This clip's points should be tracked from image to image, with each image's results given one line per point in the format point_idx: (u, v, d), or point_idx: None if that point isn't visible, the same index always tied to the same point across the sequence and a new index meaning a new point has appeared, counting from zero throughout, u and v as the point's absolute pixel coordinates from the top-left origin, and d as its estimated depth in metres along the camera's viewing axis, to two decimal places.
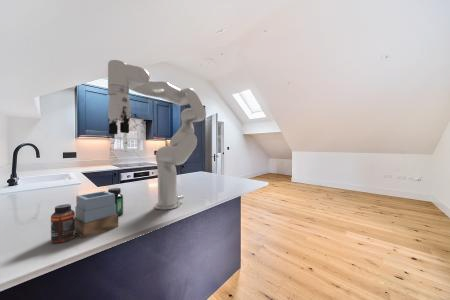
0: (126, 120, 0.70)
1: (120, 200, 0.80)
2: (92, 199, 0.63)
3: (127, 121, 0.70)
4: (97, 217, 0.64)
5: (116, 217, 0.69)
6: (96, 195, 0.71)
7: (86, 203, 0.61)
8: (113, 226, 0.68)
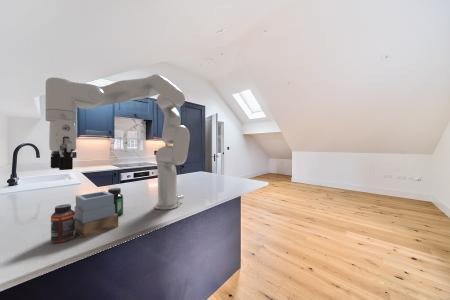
0: (67, 154, 0.55)
1: (120, 200, 0.80)
2: (90, 199, 0.63)
3: (69, 155, 0.56)
4: (95, 217, 0.64)
5: (116, 217, 0.69)
6: (95, 195, 0.71)
7: (84, 203, 0.61)
8: (113, 226, 0.68)
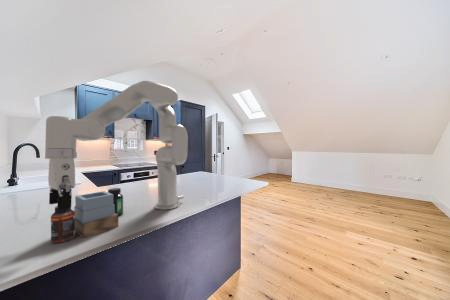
0: (66, 194, 0.55)
1: (120, 200, 0.80)
2: (90, 199, 0.63)
3: (67, 194, 0.55)
4: (95, 217, 0.64)
5: (116, 217, 0.69)
6: (95, 195, 0.71)
7: (84, 203, 0.61)
8: (113, 226, 0.68)
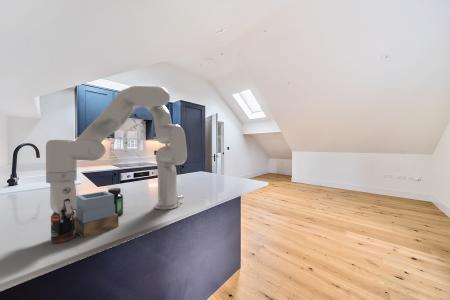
0: (66, 220, 0.56)
1: (120, 200, 0.80)
2: (90, 199, 0.63)
3: (68, 220, 0.57)
4: (95, 218, 0.63)
5: (116, 217, 0.69)
6: (96, 195, 0.71)
7: (84, 203, 0.61)
8: (113, 226, 0.68)
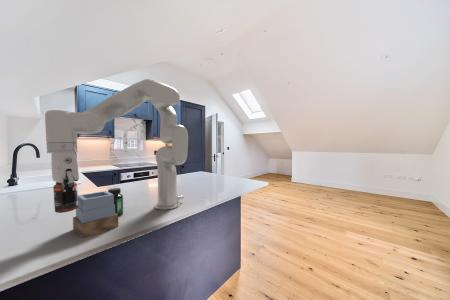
0: (69, 189, 0.56)
1: (120, 200, 0.80)
2: (90, 199, 0.63)
3: (71, 190, 0.57)
4: (95, 218, 0.63)
5: (116, 217, 0.69)
6: (97, 195, 0.71)
7: (84, 203, 0.61)
8: (113, 226, 0.68)
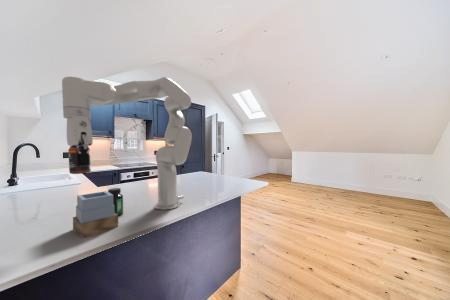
0: (83, 151, 0.60)
1: (120, 200, 0.80)
2: (89, 200, 0.62)
3: (85, 153, 0.61)
4: (94, 218, 0.63)
5: (116, 217, 0.69)
6: (97, 195, 0.71)
7: (83, 203, 0.61)
8: (113, 226, 0.68)
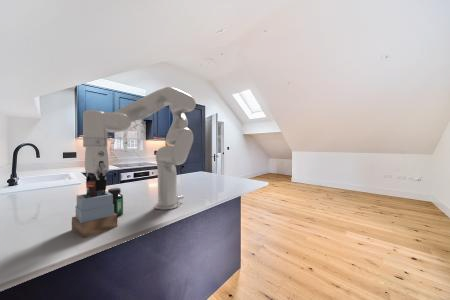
0: (102, 177, 0.64)
1: (120, 200, 0.80)
2: (89, 199, 0.63)
3: (103, 178, 0.65)
4: (94, 217, 0.63)
5: (115, 217, 0.69)
6: None
7: (82, 203, 0.61)
8: (112, 226, 0.68)
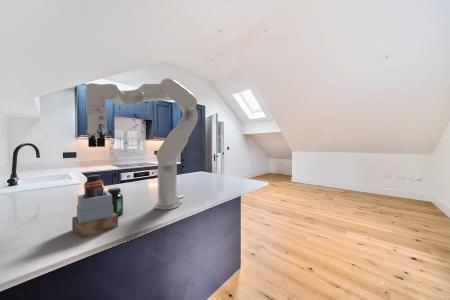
0: (102, 136, 0.80)
1: (120, 200, 0.80)
2: (87, 200, 0.62)
3: (103, 137, 0.81)
4: (92, 218, 0.63)
5: (116, 217, 0.68)
6: None
7: (81, 203, 0.61)
8: (113, 226, 0.68)
